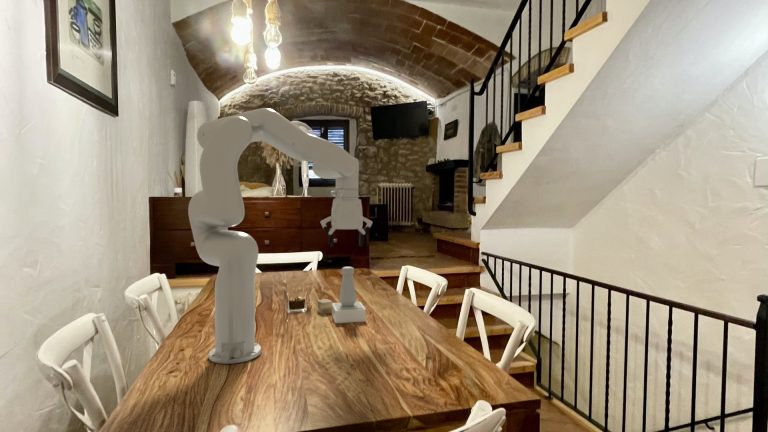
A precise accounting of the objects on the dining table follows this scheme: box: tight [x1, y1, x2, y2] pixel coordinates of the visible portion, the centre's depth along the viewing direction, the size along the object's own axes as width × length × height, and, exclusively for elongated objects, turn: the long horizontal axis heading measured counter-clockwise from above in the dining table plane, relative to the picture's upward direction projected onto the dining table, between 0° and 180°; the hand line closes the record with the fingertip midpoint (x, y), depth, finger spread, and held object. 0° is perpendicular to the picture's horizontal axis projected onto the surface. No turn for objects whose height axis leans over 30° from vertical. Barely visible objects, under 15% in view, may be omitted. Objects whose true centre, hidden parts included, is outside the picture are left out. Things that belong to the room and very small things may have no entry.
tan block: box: [316, 298, 334, 315], centre depth 144 cm, size 4×4×4 cm
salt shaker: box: [339, 266, 357, 307], centre depth 137 cm, size 6×6×13 cm
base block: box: [331, 301, 367, 324], centre depth 137 cm, size 10×10×4 cm
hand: (346, 246), depth 136 cm, fingers open, 9 cm apart
